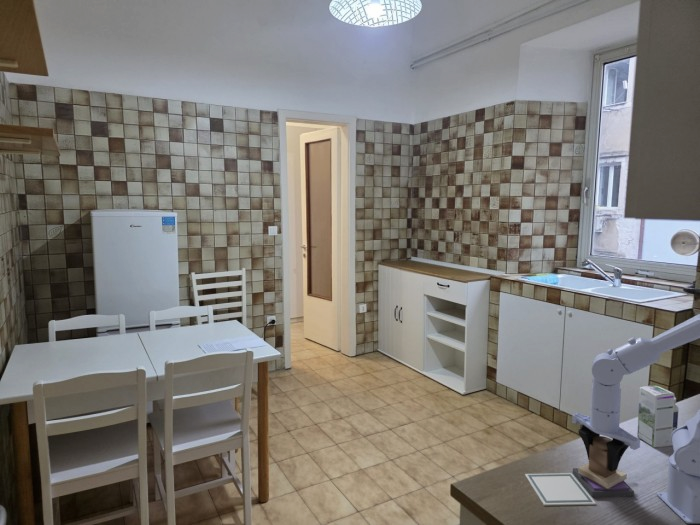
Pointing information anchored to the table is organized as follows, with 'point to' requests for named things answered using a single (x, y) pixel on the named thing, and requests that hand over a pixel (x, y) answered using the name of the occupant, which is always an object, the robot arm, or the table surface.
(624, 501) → the table surface
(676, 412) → the pill bottle
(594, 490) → the ink pad
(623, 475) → the stamp
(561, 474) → the form card
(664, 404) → the syrup box
